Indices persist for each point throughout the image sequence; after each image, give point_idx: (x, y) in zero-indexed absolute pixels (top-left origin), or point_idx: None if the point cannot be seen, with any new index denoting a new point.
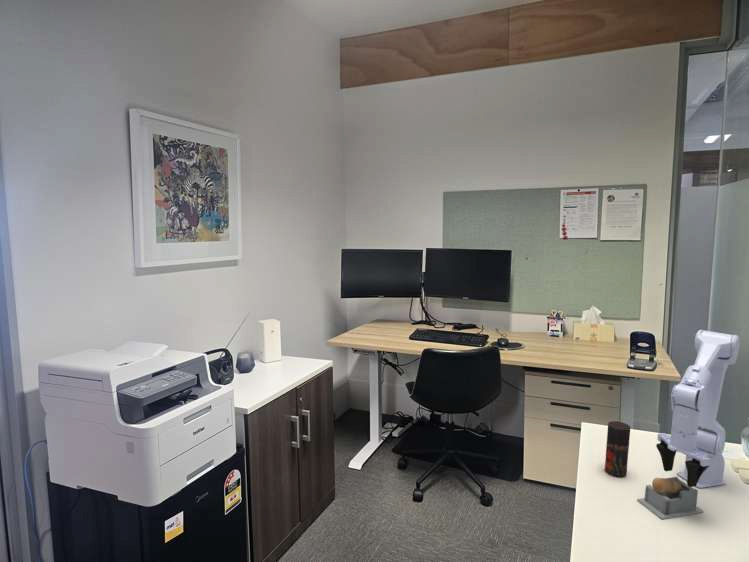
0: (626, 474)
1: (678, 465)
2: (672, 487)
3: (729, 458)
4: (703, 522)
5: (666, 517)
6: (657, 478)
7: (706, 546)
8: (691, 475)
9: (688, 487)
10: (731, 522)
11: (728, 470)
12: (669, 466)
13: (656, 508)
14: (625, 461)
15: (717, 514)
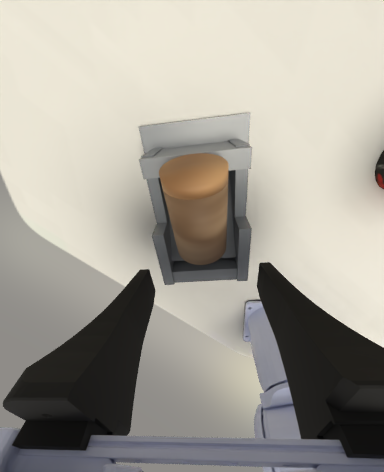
0: (380, 186)
1: None
2: (170, 219)
3: None
4: (133, 232)
5: (143, 146)
6: (207, 179)
7: (32, 170)
8: (100, 314)
9: (187, 274)
10: None
11: None
12: (264, 291)
13: (187, 145)
14: None
15: (161, 274)
